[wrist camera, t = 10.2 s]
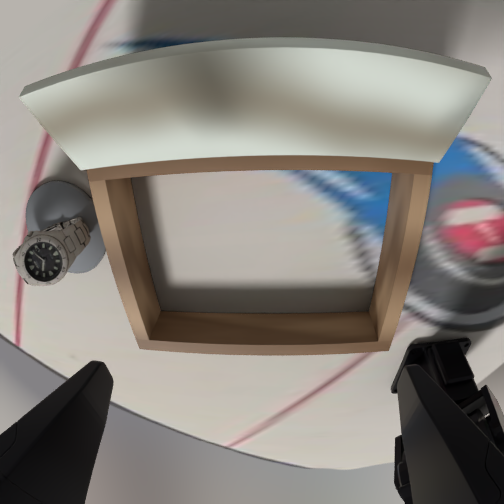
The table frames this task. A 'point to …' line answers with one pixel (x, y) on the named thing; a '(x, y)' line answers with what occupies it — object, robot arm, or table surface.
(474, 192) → the table surface
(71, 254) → the wristwatch
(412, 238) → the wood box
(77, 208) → the felt pad
